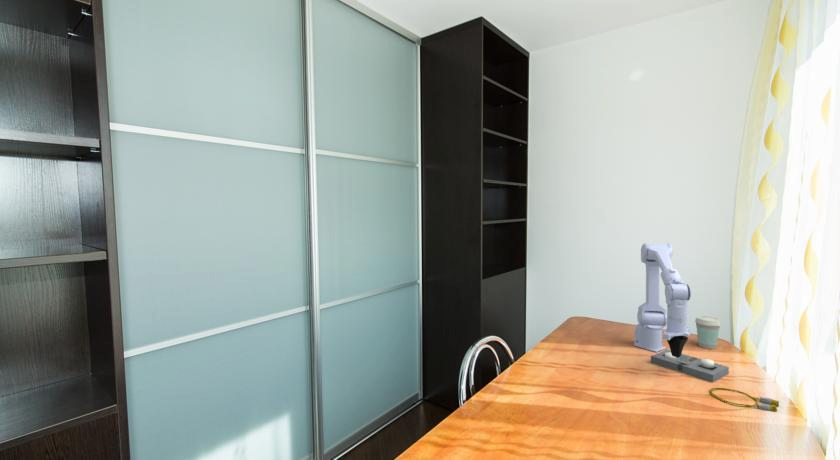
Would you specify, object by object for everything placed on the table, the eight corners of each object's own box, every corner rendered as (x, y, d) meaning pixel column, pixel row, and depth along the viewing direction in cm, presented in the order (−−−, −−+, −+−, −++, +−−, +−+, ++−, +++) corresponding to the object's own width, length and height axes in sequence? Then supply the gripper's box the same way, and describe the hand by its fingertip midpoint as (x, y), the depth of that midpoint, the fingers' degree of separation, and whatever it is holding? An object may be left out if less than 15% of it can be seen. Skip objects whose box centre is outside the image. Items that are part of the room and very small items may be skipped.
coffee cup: (711, 343, 164) (712, 315, 163) (725, 350, 156) (725, 321, 155) (690, 343, 165) (690, 315, 164) (702, 350, 156) (703, 321, 156)
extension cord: (764, 419, 106) (764, 412, 106) (701, 395, 120) (701, 389, 120) (785, 408, 111) (785, 402, 111) (723, 387, 125) (723, 381, 125)
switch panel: (650, 362, 145) (650, 355, 145) (667, 355, 151) (667, 349, 151) (712, 382, 128) (713, 375, 128) (728, 373, 134) (728, 366, 134)
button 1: (662, 358, 145) (662, 353, 145) (667, 356, 147) (667, 351, 147) (673, 361, 142) (673, 356, 142) (678, 359, 144) (678, 354, 144)
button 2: (699, 365, 135) (699, 359, 135) (704, 363, 137) (704, 357, 137) (711, 368, 132) (711, 363, 132) (715, 366, 134) (716, 360, 133)
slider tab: (678, 361, 138) (678, 354, 138) (681, 360, 139) (681, 352, 139) (686, 364, 136) (687, 356, 136) (690, 363, 137) (690, 355, 137)
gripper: (679, 324, 126) (678, 364, 127) (699, 317, 134) (698, 355, 135) (656, 319, 132) (655, 357, 133) (677, 312, 140) (676, 349, 141)
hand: (676, 356), depth 134 cm, fingers closed
